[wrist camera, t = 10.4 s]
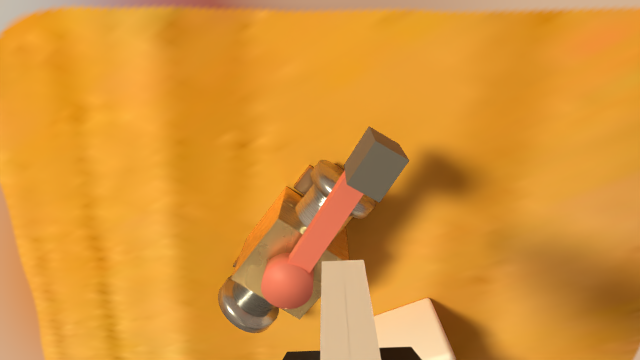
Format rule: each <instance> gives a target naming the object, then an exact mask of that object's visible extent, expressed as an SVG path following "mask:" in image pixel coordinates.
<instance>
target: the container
mask: <svg viewBox="0 0 640 360" xmlns="http://www.w3.org/2000/svg"><path fill="white" fill-rule="evenodd" d="M374 321H375V327H376V333H377V339H378V344H379V348H385V347H412V348H413V349H414V351H415V352H416V353H417V354H418V356H419V357H420V358H421V359H422V360H456V358H455V355H454V353H453V350H452V348H451V345H450V343H449V341H448V338H447V336H446V334H445V332H444V329H443V327H442V325H441V322H440V320H439V318H438V316H437V313H436V311H435V309H434V306H433V304H432V302H431V300H430V299H429V298H425V299H422V300H419V301H416V302H413V303H410V304H408V305H405V306H402V307H399V308H396V309H393V310H390V311H387V312H385V313H382V314H379V315H376V316H374Z"/></svg>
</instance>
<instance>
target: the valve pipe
mask: <svg viewBox="0 0 640 360" xmlns="http://www.w3.org/2000/svg"><path fill="white" fill-rule="evenodd" d="M343 172H344V169H342V168H340V167H339V166H337V165H335V164H333V163H331V162H329V161H325V160H321V161H319V163H318V164H317V165H316V166H315V168H313V167H312V166H310V165H309V166H308V168H307V169H306V170H305V172H304V173H303V174H302V175H301V177H300V178H299V179H298V181H297V182H296V183H295V185H294V188H295V189H296V190H298V191H299V192H301V193H302V194H304V197H302V196H300V195H299V194H297V193H296V192H294V191H293V190H291V189H290V188H288V187H287V186H286V188H285V189H284V190H283V191H282V193H281V194H280V195H279V197H278V198H277V199H276V201H275V202H274V203H273V205H272V206H271V207H270V208H269V210H268V211H267V212H266V214H265V215H264V216H263V218H262V219H261V220H260V222H259V223H258V224H257V225H256V227H255V228H254V229H253V231H252V232H251V233H250V235H249V236H248V237H247V239H246V241H245V244H244V246H243V249H242V251H241V254H240V256H239V257H238V258H237V260H236V261H235V263H234V265H233V267H235V269H234V272H233V274H232V276H230V277H229V278H228V279H227V280H226V282H225V283H224V284H223V286H222V287H221V288H220V290H219V294H218V301H219V305H220V308H221V310H222V312H223V314H224V315H225V316H226V318H227V319H228V320H229V321H230V322H231V323H232V324H234V325H235V326H236V327H238V328H239V329H241V330H244V331H246V332H250V333H260V332H263V331H265V330H266V329H267V328H268V327H269V326H270V325H271V324H272V323H273V322H274V321H275V319H276V318H277V316H278V313H279V308H278V307H276V306H274V305H272V304H270V303H269V302H268V301H267V300H266V299H265V298H264V296H263V294H262V291H261V282H262V278H263V274H264V271H265V267H266V265H267V263H268V262H269V260H270V259H272V258H273V257H275V256H276V255H279V254H282V253H291V252H292V251H293V249H294V247H295V246H296V244H297V243H298V241H299V240H300V238H301V237H302V235H303V234H304V232H305V230H306V229H307V227H308V226H309V224H310V223H311V221H312V220H313V218H314V217H315V215H316V214H317V212H318V210H319V209H320V207H321V206H322V204H323V203H324V201H325V200H326V198H327V197H328V195H329V193H330V192H331V190H332V189H333V187H334V186H335V184H336V183H337V181H338V180H339V178H340V177H341V175H342V173H343ZM374 207H375V201H374V199H372V198H370V197H368V196H367V195H365V194H364V195H363V196H362V197H361V199H360V200H359V202H358V203H357V205H356V206H355V208H354V209H353V211H352V212H351V213H350V215H349V216H348V218H347V219H346V221H345V222H344V224H343V225H342V227H341V228H340V229H339V231H338V232H337V234H336V235H335V237H334V238H333V240H332V241H331V243H330V244H329V245H328V247H327V248H326V250H325V251H324V253H323V254H322V256H321V257H320V259H319V260H318V262H317V263H316V264H315V266H314V267H313V271H314V280H313V293H312V296H311V298H310V299H309V300H308V302H307V303H305V304H304V305H302V306H300V307H298V308H294V309H283V310H285V311H286V312H288V313H290V314H291V315H293V316H295V317H296V318H298V319H301V317H302V316H303V315H304V314H305V313H306V312H307V311H308V310H309V309H310V308H311V307H312V305H313V304H314V303H315V302H316V301H317V300H318V299H319V298H320V297H321V274H322V261H346V260H349V254H348V243H347V233H346V225H347V224H348V222H349V221H350V220H351V219H352V218H353V217H355V218H359V219H364V218H365V217H366V216H367V215H368V214H369V213H370V212H371V211H372V210H373V208H374ZM281 309H282V308H281Z"/></svg>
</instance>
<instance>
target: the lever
mask: <svg viewBox="0 0 640 360" xmlns="http://www.w3.org/2000/svg"><path fill="white" fill-rule="evenodd" d="M408 162H409V159H408V158H407V156H406V155H405V153H404V152H403V150H402V148H401V147H400V145H399V144H398V143H396V142H395V141H393V140H391V139H389V138H388V137H386V136H384V135H383V134H381V133H379V132H378V131H376V130H374V129H373V128H371V127H368V129H367V130H366V132H365V133H364V135H363V137H362V138H361V140H360V141H359V143H358V144H357V146H356V147H355V149H354V150H353V152H352V154H351V155H350V157H349V158H348V160H347V161H346V163H345V164H344V168H345V170H344V172H343V173H342V175H341V177H340V178H339V180H338V181H337V183H336V184H335V186H334V187H333V189H332V190H331V192H330V193H329V195H328V197H327V198H326V200H325V201H324V203H323V204H322V206H321V207H320V209H319V210H318V212H317V214H316V215H315V217H314V218H313V220H312V221H311V223H310V224H309V226H308V227H307V229H306V230H305V232H304V234H303V235H302V237H301V238H300V240H299V241H298V243H297V244H296V246H295V247H294V249H293V251H292V252H291V253H282V254H279V255H276V256H275V257H273V258H272V259H270V260H269V262H268V263H267V265H266V267H265V271H264V274H263V278H262V282H261V291H262V294H263V296H264V298H265V299H266V300H267V301H268V302H269V303H270V304H272V305H274V306H276V307H278V308H282V309H294V308H298V307H300V306H302V305H304V304H305V303H307V302H308V300H309V299H310V298H311V296H312V293H313V280H314V271H313V267H314V266H315V264H316V263H317V262H318V260H319V259H320V257H321V256H322V254H323V253H324V251H325V250H326V248H327V247H328V245H329V244H330V243H331V241H332V240H333V238H334V237H335V235H336V234H337V232H338V231H339V229H340V228H341V227H342V225H343V224H344V222H345V221H346V219H347V218H348V216H349V215H350V213H351V212H352V211H353V209H354V208H355V206H356V205H357V203H358V202H359V200H360V199H361V197H362V196H363V195H364V194H365V195H367V196H368V197H370V198H372V199H374V200H376V201H377V202H379V203H380V201H381V200H382V198H383V197H384V196H385V194H386V193H387V191H388V190H389V189H390V187H391V186H392V184H393V183H394V181H395V180H396V179H397V177H398V176H399V174H400V173H401V172H402V170H403V169H404V167H405V166H406V165H407V163H408Z"/></svg>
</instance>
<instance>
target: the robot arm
mask: <svg viewBox="0 0 640 360" xmlns="http://www.w3.org/2000/svg"><path fill="white" fill-rule="evenodd" d="M283 360H422V359H421V358H420V357H419V356H418V354H417V353H416V352H415V351H414V349H413V348H412V347H385V348H379V344H378V339H377V333H376V327H375V321H374V316H373V310H372V304H371V298H370V293H369V287H368V281H367V276H366V270H365V264H364V260H346V261H322V274H321V337H320V351H299V352H287V353H286V355H285V356H284V358H283Z"/></svg>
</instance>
